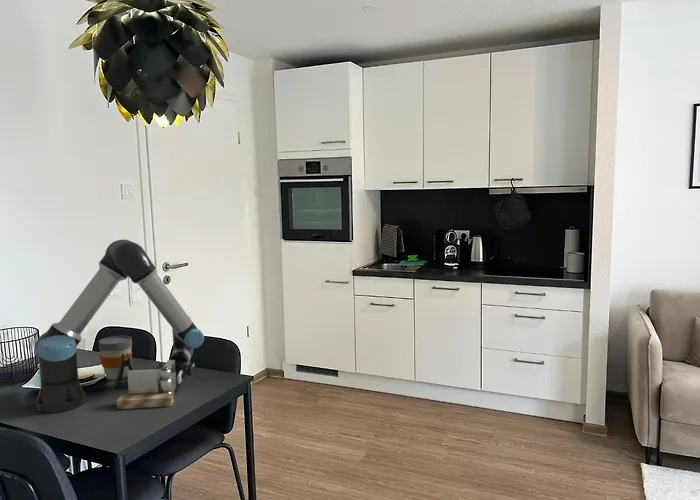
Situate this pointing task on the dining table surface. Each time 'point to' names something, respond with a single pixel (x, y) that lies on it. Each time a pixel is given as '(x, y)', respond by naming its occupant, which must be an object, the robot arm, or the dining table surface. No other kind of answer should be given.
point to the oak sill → (145, 401)
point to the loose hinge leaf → (169, 383)
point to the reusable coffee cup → (114, 354)
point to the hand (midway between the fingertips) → (169, 380)
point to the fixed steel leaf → (147, 381)
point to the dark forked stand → (120, 373)
